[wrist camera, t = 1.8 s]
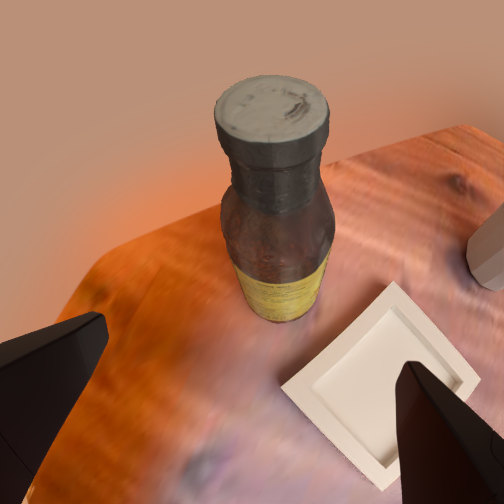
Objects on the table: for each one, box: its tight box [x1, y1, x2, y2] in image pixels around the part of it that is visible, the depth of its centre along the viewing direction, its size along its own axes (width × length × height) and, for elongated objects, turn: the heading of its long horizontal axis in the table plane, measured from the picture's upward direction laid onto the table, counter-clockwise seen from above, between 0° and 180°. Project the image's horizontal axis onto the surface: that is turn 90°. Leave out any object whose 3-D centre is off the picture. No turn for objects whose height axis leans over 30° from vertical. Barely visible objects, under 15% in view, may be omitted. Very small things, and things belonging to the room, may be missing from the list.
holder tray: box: [281, 281, 481, 491], centre depth 23 cm, size 13×13×2 cm
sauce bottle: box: [214, 75, 335, 324], centre depth 19 cm, size 6×6×20 cm
